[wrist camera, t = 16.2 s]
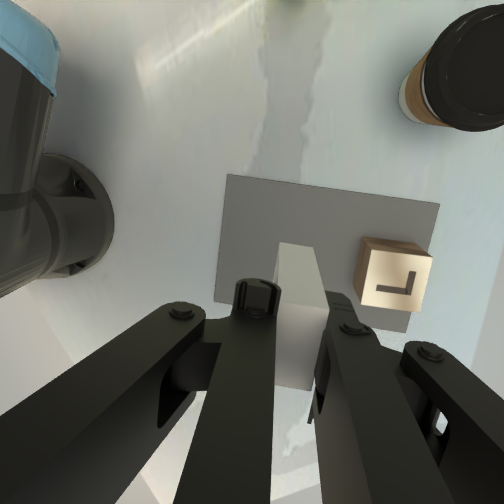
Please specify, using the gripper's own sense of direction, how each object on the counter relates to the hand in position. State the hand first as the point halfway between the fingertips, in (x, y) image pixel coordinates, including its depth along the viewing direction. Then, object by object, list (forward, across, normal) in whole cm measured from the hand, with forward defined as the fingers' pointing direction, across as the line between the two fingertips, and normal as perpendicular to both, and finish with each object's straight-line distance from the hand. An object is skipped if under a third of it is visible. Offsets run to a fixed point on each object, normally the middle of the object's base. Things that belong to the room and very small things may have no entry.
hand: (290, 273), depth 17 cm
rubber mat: (+28, +5, -7) cm, 29 cm away
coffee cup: (+28, +13, +12) cm, 33 cm away
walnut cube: (+21, +12, -6) cm, 25 cm away
